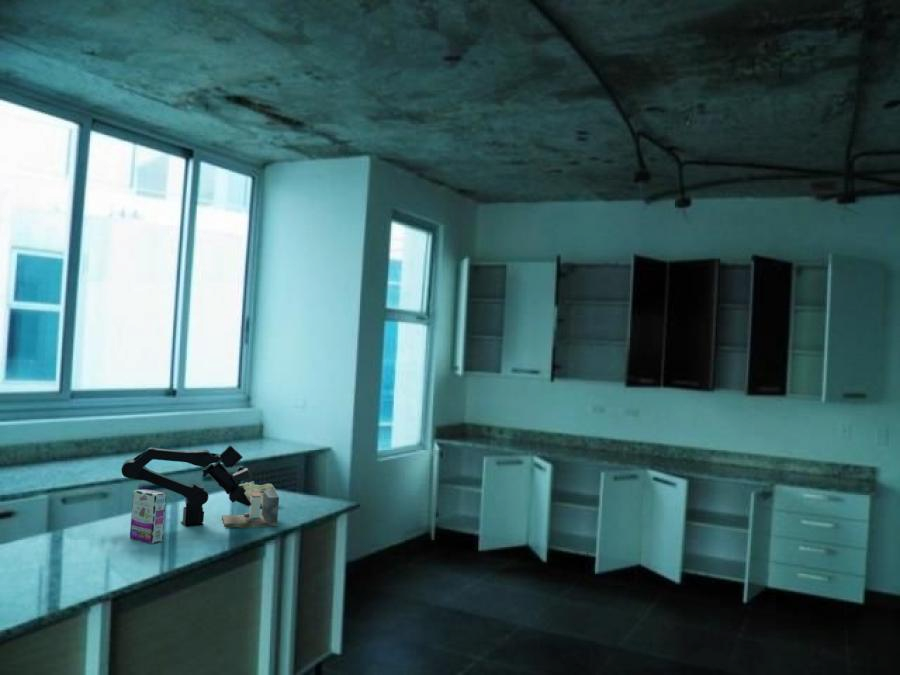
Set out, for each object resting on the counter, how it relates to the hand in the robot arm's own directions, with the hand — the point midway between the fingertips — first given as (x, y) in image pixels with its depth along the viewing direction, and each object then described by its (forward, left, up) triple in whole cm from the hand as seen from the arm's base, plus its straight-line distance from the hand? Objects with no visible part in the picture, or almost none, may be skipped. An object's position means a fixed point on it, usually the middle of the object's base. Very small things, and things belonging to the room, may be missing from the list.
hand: (250, 505), depth 277 cm
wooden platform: (0, 0, -7) cm, 7 cm away
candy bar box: (-40, -10, -7) cm, 42 cm away
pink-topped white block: (+2, 0, -5) cm, 5 cm away
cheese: (+13, +28, -7) cm, 32 cm away
